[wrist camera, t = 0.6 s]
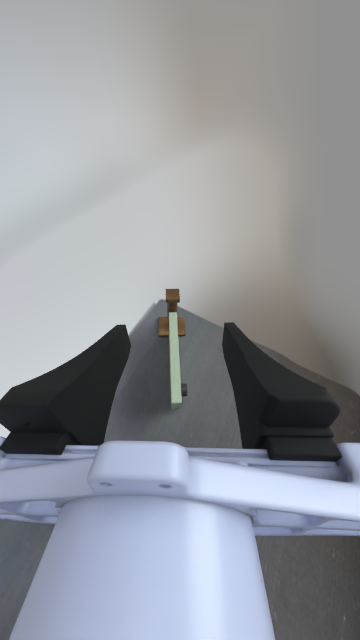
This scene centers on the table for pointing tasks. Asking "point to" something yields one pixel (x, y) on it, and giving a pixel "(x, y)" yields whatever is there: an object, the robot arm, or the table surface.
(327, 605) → the table surface
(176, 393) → the door
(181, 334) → the wooden stand
